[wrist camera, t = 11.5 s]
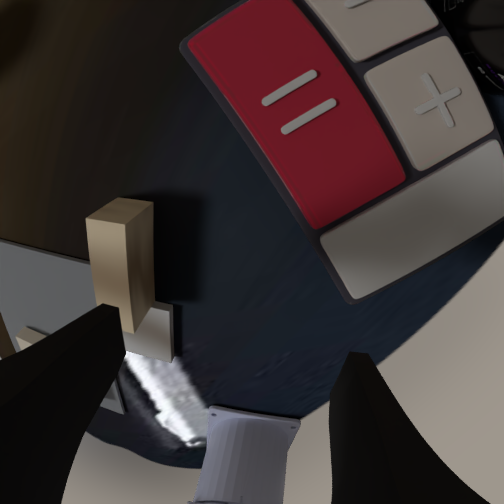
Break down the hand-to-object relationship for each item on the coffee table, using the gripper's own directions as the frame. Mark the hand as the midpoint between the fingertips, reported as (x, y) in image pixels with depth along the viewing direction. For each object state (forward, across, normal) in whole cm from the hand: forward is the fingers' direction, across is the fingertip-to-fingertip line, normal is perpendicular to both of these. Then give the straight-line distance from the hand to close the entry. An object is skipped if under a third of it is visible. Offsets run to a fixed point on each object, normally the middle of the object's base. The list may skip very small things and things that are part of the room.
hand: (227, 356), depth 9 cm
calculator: (+10, -4, -8) cm, 13 cm away
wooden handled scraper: (+9, +8, +5) cm, 13 cm away
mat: (+9, +18, +13) cm, 24 cm away
